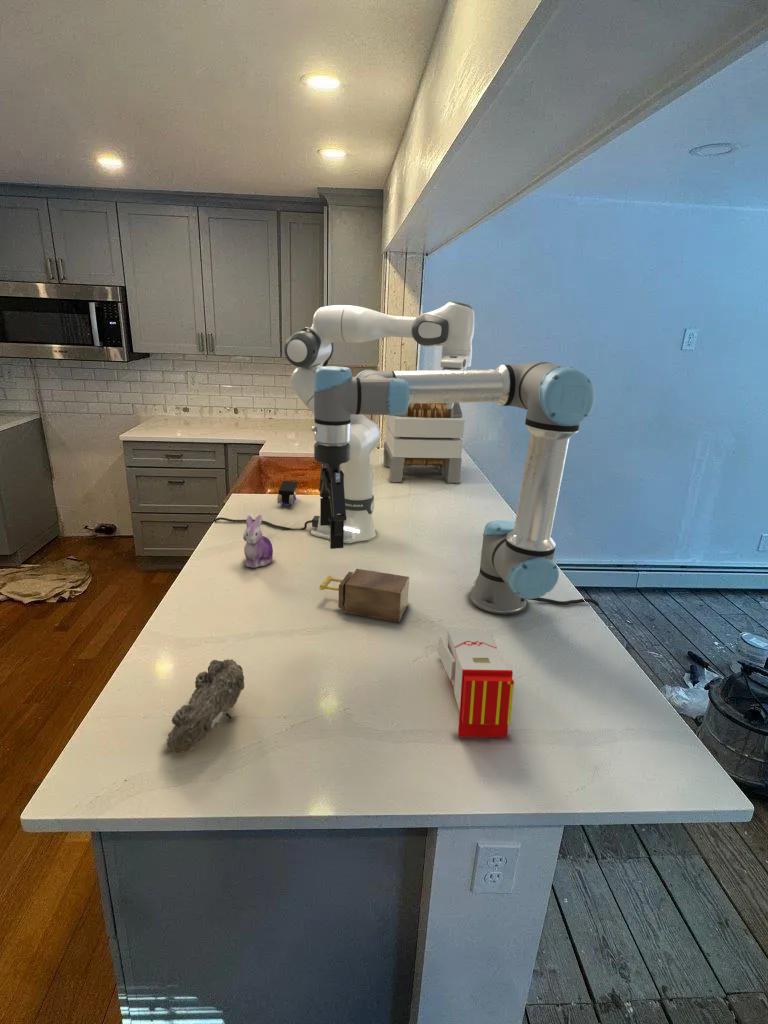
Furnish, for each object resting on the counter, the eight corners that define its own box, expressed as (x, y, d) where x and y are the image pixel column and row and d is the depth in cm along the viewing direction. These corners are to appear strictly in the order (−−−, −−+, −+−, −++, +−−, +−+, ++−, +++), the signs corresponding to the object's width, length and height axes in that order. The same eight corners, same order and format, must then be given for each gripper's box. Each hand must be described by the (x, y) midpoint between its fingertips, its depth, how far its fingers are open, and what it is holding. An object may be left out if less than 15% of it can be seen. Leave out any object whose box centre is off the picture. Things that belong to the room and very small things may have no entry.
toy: (488, 613, 130) (523, 677, 101) (484, 667, 133) (517, 744, 104) (435, 612, 130) (455, 676, 101) (432, 666, 133) (451, 743, 103)
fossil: (192, 660, 117) (244, 628, 112) (224, 691, 120) (276, 661, 115) (142, 746, 98) (202, 712, 93) (182, 779, 101) (242, 748, 96)
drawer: (317, 604, 149) (317, 581, 147) (328, 589, 156) (328, 568, 154) (388, 616, 144) (389, 593, 142) (395, 601, 152) (397, 579, 150)
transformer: (382, 463, 289) (386, 382, 275) (445, 464, 293) (451, 384, 279) (390, 482, 257) (394, 392, 243) (460, 483, 261) (468, 394, 247)
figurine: (247, 571, 167) (245, 523, 162) (239, 557, 175) (236, 512, 170) (278, 566, 171) (277, 519, 166) (269, 553, 179) (267, 508, 174)
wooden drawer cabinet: (344, 613, 147) (345, 584, 144) (356, 596, 156) (356, 568, 153) (399, 622, 143) (400, 593, 141) (407, 604, 152) (409, 576, 149)
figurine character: (294, 513, 219) (298, 496, 232) (293, 495, 215) (298, 479, 229) (276, 512, 219) (282, 496, 232) (276, 494, 215) (281, 479, 229)
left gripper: (451, 356, 180) (447, 400, 184) (439, 361, 161) (435, 410, 166) (471, 358, 178) (467, 402, 183) (461, 363, 159) (457, 412, 164)
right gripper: (306, 430, 130) (307, 517, 137) (324, 457, 107) (323, 560, 114) (338, 429, 131) (337, 515, 139) (362, 456, 109) (359, 557, 116)
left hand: (452, 406), depth 174 cm, fingers open, 8 cm apart
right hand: (331, 535), depth 126 cm, fingers open, 13 cm apart
